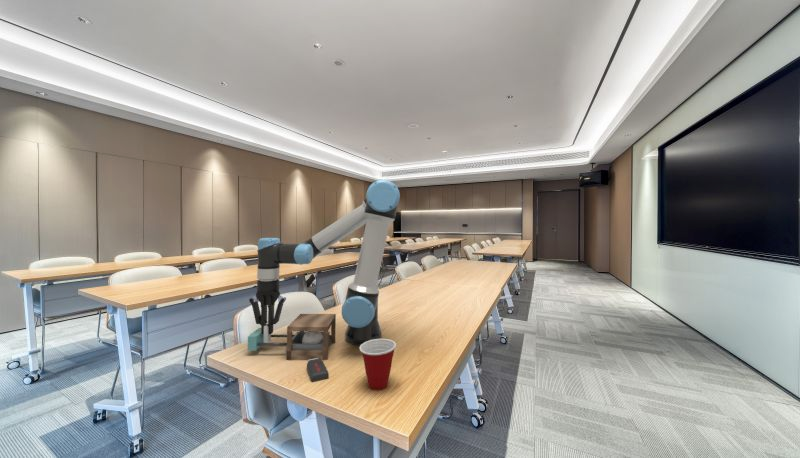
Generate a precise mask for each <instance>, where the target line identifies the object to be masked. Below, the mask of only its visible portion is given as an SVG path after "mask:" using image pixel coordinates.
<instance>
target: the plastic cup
mask: <svg viewBox="0 0 800 458" xmlns="http://www.w3.org/2000/svg"><path fill="white" fill-rule="evenodd" d="M396 347H397V343H396V342H395V341H394V340H392V339H390V338H389V339H387V338H381V339H374V340H369V341H367V342H364V343H363V344H361V345H359V351H360V353H361V354H362V357H363V363H364V364H363V365H364V369H365V375H366V380H367V385H369V386H368V388H370V389H371V390H373V389H374V391H380V390H384V389H387V387H388V384H389V380H390V375H391V370H392V363H393V358H394V353H395V349H396Z"/></svg>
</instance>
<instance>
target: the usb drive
mask: <svg viewBox="0 0 800 458" xmlns="http://www.w3.org/2000/svg"><path fill="white" fill-rule="evenodd" d="M306 372H307V374H308V377H309V380H310V382H312V383H315V382H320V381H324V380H328V379H329V377H330V376H329V375H330V373H329V371H328V369H327V367H326V365H325V363H324V360H321V359H319V358H315V359H310V360H307V363H306Z"/></svg>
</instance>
